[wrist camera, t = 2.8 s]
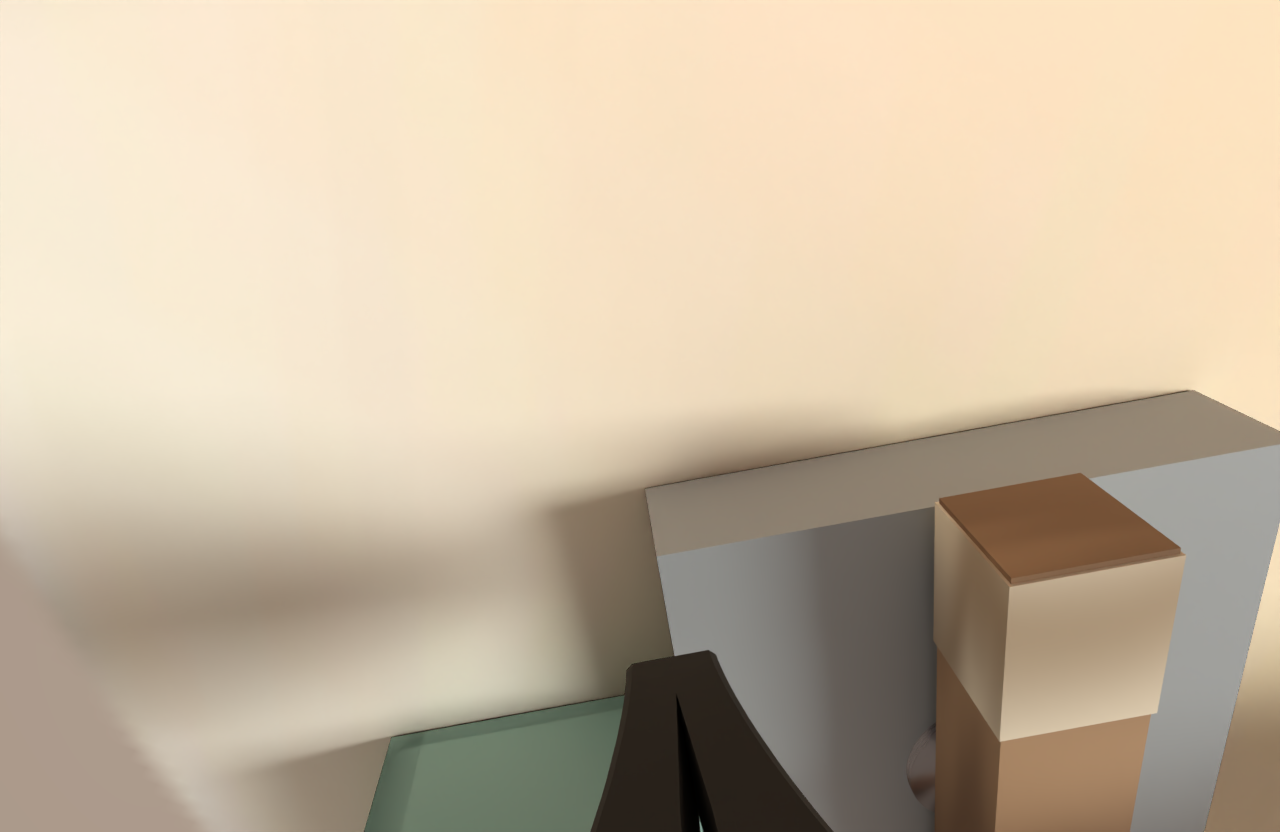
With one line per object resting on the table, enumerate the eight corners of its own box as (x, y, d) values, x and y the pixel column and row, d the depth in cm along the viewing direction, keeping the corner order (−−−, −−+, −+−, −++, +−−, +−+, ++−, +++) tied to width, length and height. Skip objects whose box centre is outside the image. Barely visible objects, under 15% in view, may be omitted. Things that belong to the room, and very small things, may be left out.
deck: (1104, 913, 22) (1161, 1003, 20) (733, 982, 22) (751, 1079, 20) (1193, 390, 15) (1299, 440, 13) (644, 488, 15) (656, 556, 13)
